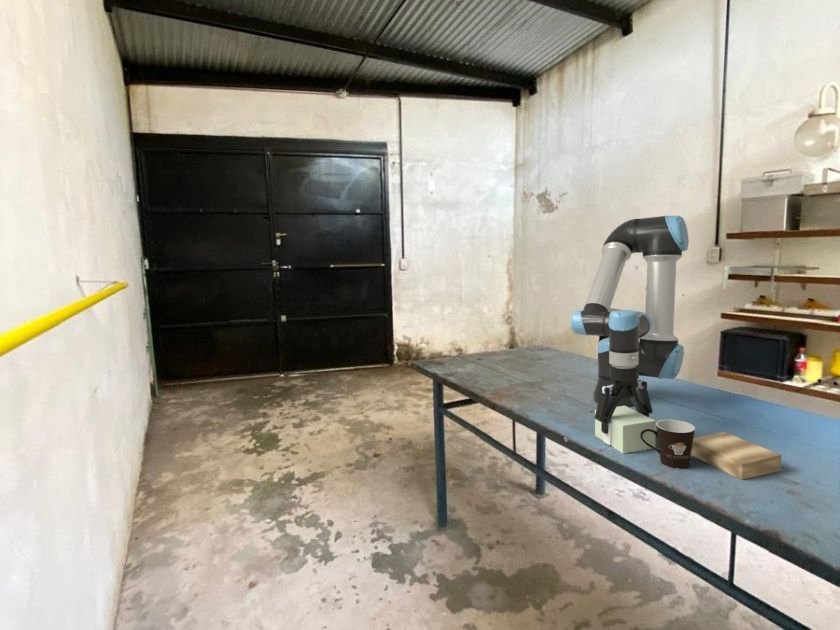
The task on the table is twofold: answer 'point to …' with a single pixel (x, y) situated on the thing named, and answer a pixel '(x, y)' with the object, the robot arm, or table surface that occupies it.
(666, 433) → the coffee mug
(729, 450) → the oak block
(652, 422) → the sage brick
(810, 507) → the table surface
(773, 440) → the table surface
